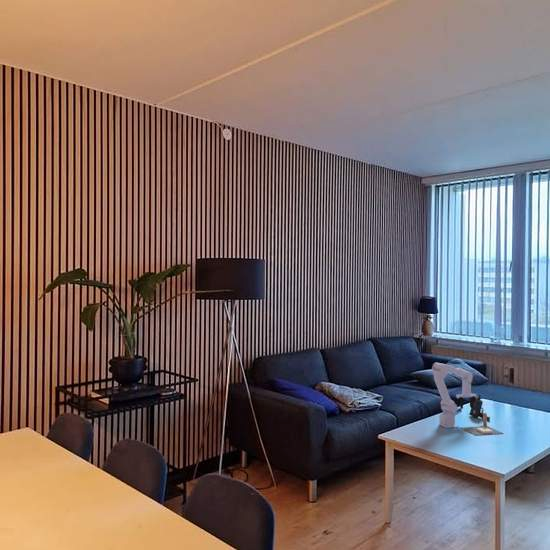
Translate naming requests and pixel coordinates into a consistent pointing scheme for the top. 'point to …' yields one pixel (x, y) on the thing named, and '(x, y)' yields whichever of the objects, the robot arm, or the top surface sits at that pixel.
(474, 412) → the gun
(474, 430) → the mat
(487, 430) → the tile
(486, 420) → the tamper
